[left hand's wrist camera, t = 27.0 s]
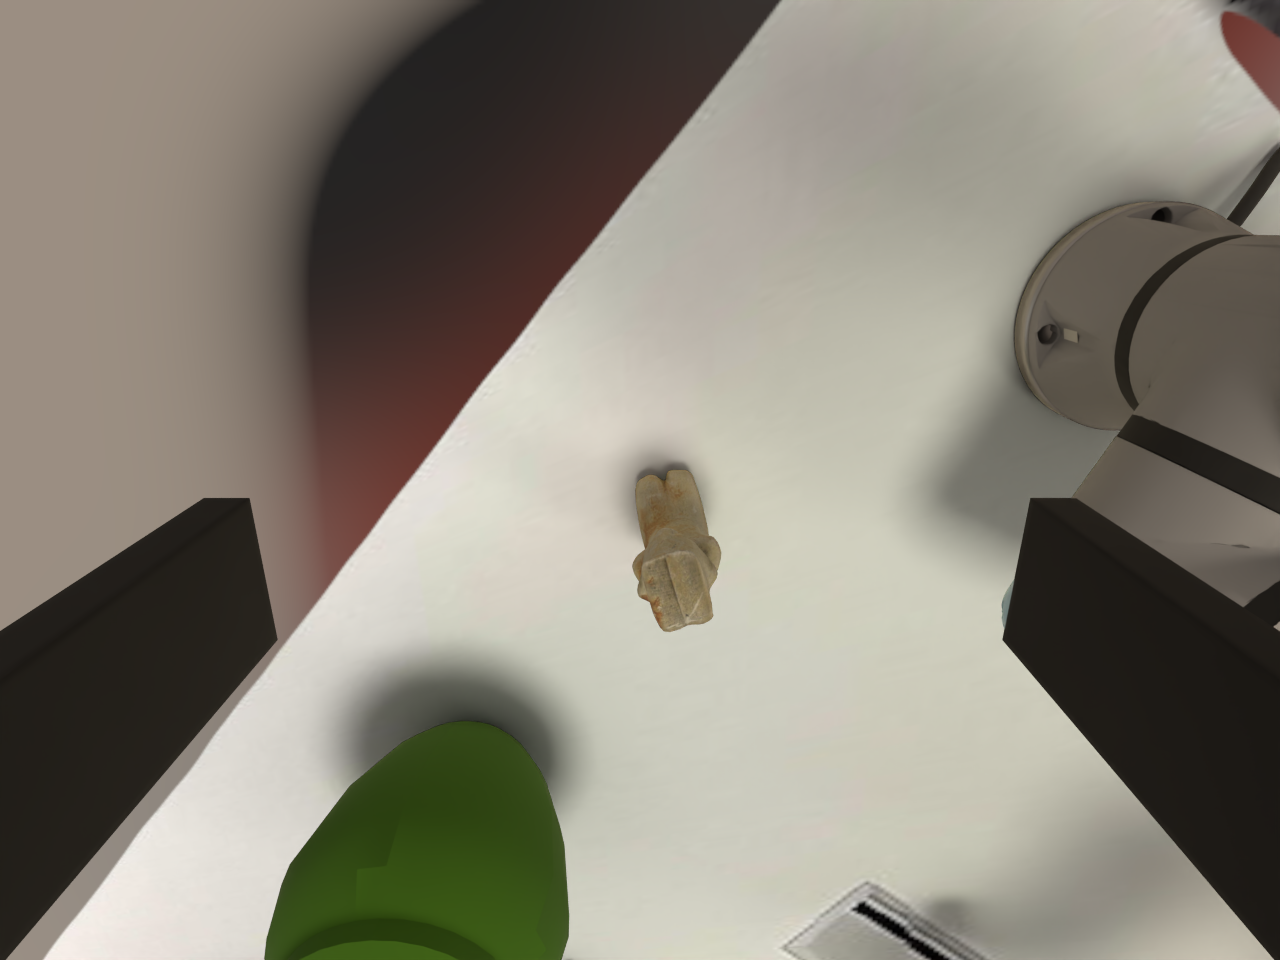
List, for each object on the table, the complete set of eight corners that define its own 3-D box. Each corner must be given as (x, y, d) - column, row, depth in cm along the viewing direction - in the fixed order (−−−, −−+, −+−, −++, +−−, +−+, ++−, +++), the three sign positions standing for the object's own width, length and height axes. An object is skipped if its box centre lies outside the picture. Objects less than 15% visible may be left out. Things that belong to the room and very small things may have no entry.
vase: (627, 727, 63) (619, 1021, 40) (520, 872, 69) (460, 1202, 46) (421, 625, 59) (285, 883, 37) (327, 787, 65) (159, 1098, 42)
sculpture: (701, 458, 54) (722, 544, 40) (716, 544, 57) (741, 653, 43) (625, 472, 55) (620, 562, 41) (643, 557, 57) (644, 669, 43)
